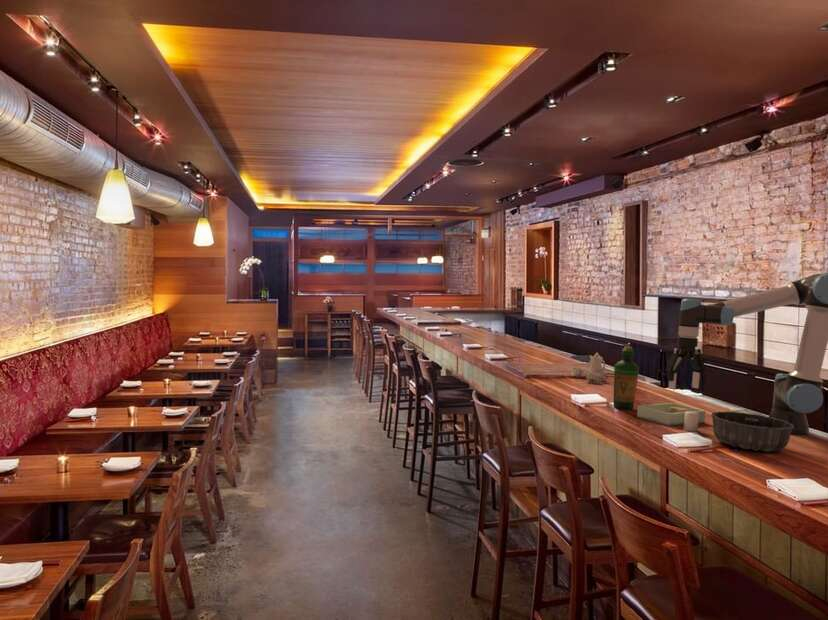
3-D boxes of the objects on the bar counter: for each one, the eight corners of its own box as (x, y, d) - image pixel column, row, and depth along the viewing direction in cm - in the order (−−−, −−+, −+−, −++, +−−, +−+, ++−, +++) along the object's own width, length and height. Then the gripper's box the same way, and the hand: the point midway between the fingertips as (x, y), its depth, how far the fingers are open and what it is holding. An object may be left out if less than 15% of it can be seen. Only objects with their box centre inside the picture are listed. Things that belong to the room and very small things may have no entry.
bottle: (620, 411, 270) (624, 348, 268) (606, 405, 280) (610, 345, 278) (640, 410, 272) (645, 348, 271) (626, 405, 283) (631, 345, 281)
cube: (686, 420, 253) (687, 409, 253) (678, 421, 251) (679, 409, 251) (676, 418, 258) (677, 406, 257) (668, 418, 255) (669, 407, 255)
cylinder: (700, 431, 240) (701, 413, 239) (691, 432, 237) (693, 414, 237) (689, 428, 244) (690, 410, 244) (680, 429, 242) (682, 411, 241)
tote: (704, 422, 255) (705, 411, 255) (668, 426, 245) (669, 414, 245) (672, 414, 270) (673, 402, 269) (637, 417, 259) (638, 405, 259)
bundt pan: (718, 432, 240) (720, 407, 239) (796, 447, 223) (799, 420, 223) (700, 444, 220) (702, 417, 219) (784, 462, 203) (787, 432, 202)
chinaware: (565, 378, 364) (565, 350, 363) (590, 375, 369) (589, 348, 367) (591, 387, 337) (591, 357, 336) (617, 384, 342) (617, 355, 340)
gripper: (701, 336, 257) (696, 385, 259) (658, 335, 246) (654, 387, 248) (716, 338, 251) (712, 389, 252) (674, 337, 240) (669, 391, 241)
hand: (683, 388), depth 250 cm, fingers open, 13 cm apart
